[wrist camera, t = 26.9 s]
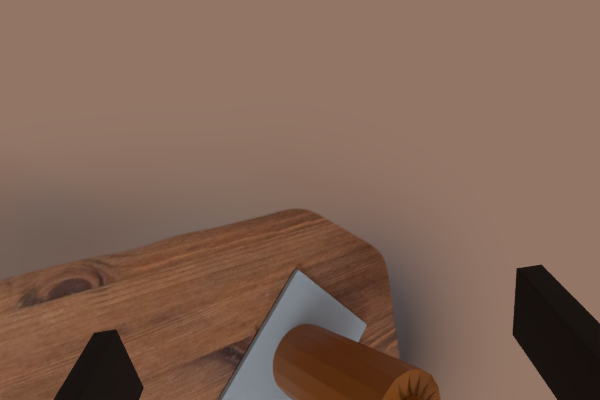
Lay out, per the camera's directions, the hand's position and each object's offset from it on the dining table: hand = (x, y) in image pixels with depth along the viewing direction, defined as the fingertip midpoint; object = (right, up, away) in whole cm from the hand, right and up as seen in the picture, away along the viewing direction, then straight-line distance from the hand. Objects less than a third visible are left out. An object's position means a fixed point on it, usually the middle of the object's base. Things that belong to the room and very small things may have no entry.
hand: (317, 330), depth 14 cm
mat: (-1, -12, +29) cm, 31 cm away
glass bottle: (0, -12, +28) cm, 31 cm away
